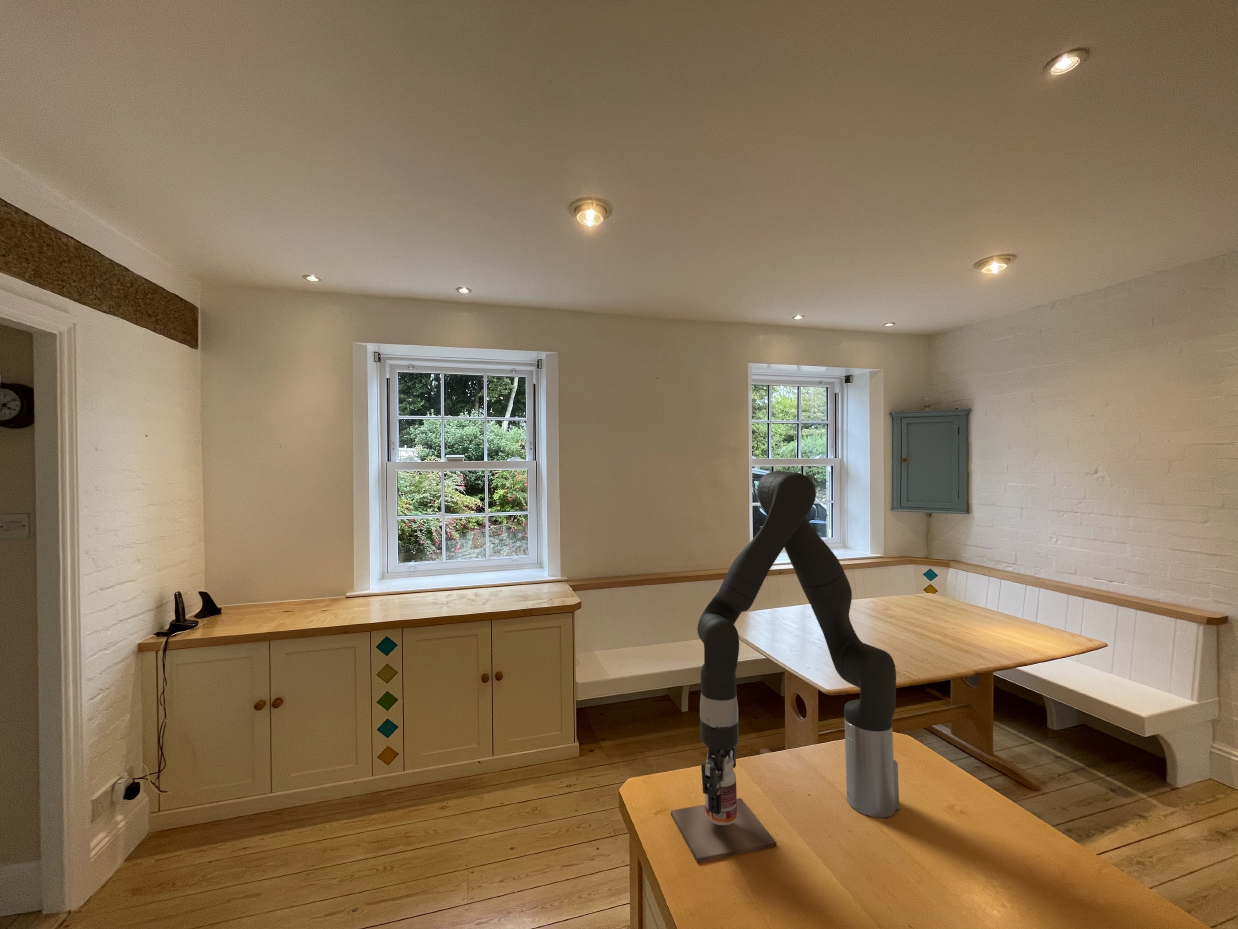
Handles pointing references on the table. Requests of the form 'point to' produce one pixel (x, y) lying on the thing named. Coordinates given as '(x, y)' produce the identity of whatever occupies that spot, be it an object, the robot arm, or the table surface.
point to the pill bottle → (725, 798)
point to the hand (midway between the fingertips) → (720, 802)
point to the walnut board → (721, 833)
